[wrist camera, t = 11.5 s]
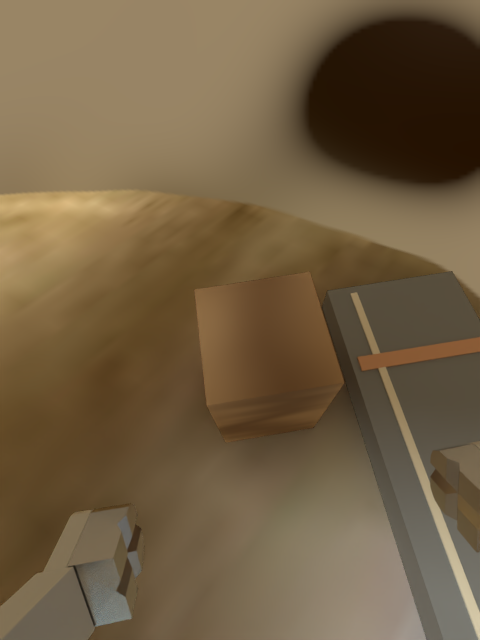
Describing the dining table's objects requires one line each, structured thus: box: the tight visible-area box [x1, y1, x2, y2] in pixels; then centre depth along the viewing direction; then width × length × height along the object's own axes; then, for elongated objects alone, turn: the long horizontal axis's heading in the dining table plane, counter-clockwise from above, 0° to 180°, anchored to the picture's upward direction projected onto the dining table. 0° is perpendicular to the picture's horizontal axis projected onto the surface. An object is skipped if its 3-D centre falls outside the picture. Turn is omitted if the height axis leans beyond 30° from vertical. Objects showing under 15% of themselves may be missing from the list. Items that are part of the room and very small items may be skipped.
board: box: [322, 271, 480, 640], centre depth 17 cm, size 8×22×2 cm, turn 9°
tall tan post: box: [194, 272, 345, 442], centre depth 17 cm, size 5×5×8 cm
